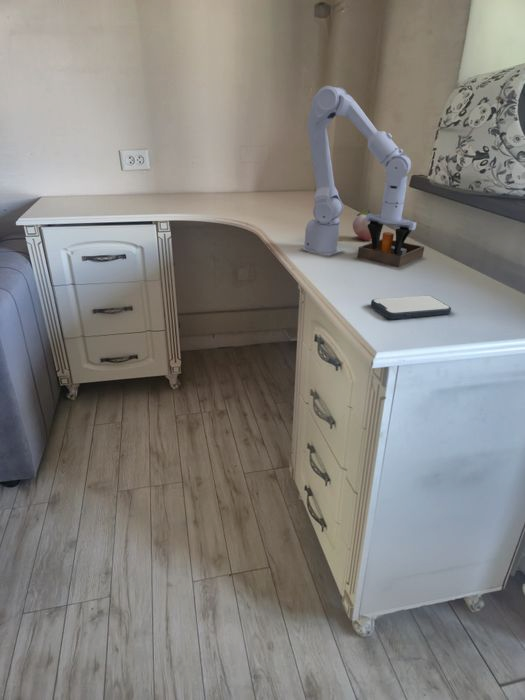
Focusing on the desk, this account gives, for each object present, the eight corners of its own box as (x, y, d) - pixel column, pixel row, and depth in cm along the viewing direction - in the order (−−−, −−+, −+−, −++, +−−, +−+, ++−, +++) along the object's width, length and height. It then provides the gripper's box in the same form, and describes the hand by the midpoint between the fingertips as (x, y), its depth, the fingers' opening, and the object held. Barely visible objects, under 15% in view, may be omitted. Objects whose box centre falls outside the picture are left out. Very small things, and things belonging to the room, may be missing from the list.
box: (357, 258, 143) (358, 247, 141) (382, 249, 153) (384, 238, 152) (398, 269, 135) (400, 256, 134) (422, 258, 146) (424, 246, 144)
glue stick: (377, 259, 141) (381, 233, 138) (382, 257, 144) (386, 231, 140) (386, 261, 140) (390, 235, 136) (391, 259, 142) (395, 233, 138)
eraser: (386, 253, 147) (387, 247, 146) (390, 252, 149) (391, 245, 148) (401, 257, 144) (402, 250, 143) (405, 255, 146) (406, 249, 145)
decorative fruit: (384, 241, 162) (389, 211, 157) (371, 246, 156) (375, 214, 152) (360, 236, 167) (364, 206, 163) (346, 240, 162) (350, 209, 157)
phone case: (428, 301, 115) (368, 305, 110) (429, 294, 114) (369, 298, 109) (452, 315, 107) (388, 321, 102) (454, 308, 106) (390, 313, 102)
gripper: (424, 204, 133) (415, 253, 139) (376, 196, 141) (370, 243, 147) (412, 207, 128) (404, 258, 134) (364, 199, 136) (358, 247, 143)
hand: (385, 250), depth 140 cm, fingers open, 6 cm apart
